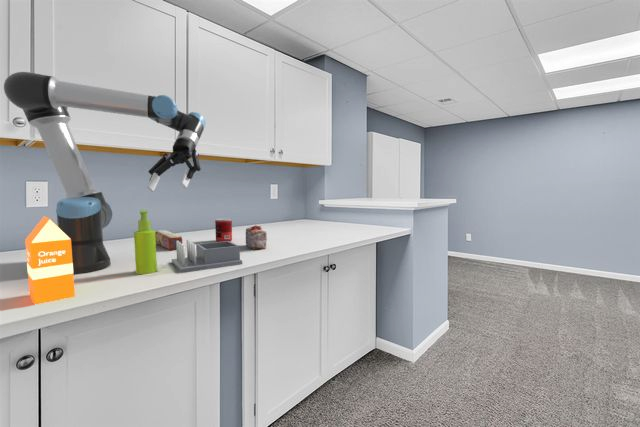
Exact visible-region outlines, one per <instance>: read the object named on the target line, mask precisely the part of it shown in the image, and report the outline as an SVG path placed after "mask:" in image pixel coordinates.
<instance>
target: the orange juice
mask: <svg viewBox="0 0 640 427" xmlns="http://www.w3.org/2000/svg"><path fill="white" fill-rule="evenodd" d="M24 242H25V253H26V268H27V276H28V277H27V278H28V290H29V291H28V292H29V297H30V299H31V301H32V300H33V301H32V303H33V304H34V305H35V304H38V305H40V304H39V303H43V304H45V303H44V302H47V303H51V302H50V301H52V302H56V301H55V300H57V301H61V300H60V299H62V300H65V299H64V298H66V299H70V297H71V298H75V297H76V296H75V294H76V293H75V280H74V279H75V278H74V274H73V262H72V248H71V239H70V238H69V237H68V236H67V235H66V234H65V233H64V232H63V231H62V230H61V229H60V228H59V227H58V224H57V223H55V222H54V221H52V219H50V218H49V217H47V216H44V215H43V217H42V218H41V219H40V221H39V222H38V223H37V224H36V225H35V227H34V228H33V229H32V231H31V232H30V233H29V234H28V235H27V237H26V238H25V239H24ZM74 296H75V297H74Z"/></svg>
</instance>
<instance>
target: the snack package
mask: <svg viewBox="0 0 640 427" xmlns="http://www.w3.org/2000/svg"><path fill="white" fill-rule="evenodd" d="M155 239H156V245H159V246H161V247H163V248H165V249H166V250H168V251H171V252H172V251H177V249H176V241H179V242H181V244H183V243H184V242H183V241H184V240H183V237H182V236H181V235H178V234H176V233H173V232H170V231H169V230H165V229H159V230H156V231H155ZM183 245H184V244H183Z"/></svg>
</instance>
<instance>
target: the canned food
mask: <svg viewBox="0 0 640 427" xmlns="http://www.w3.org/2000/svg"><path fill="white" fill-rule="evenodd" d="M214 223H215V242H223V241H230V242H232V241H233V222H232V218H230V217H229V218H228V217H226V218H225V217H222V218H221V217H220V218H215V221H214Z"/></svg>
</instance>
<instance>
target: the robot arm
mask: <svg viewBox="0 0 640 427" xmlns="http://www.w3.org/2000/svg"><path fill="white" fill-rule="evenodd" d="M3 91H4V95H5V96H6V98H8V101H9V102H10V103H12V104H13V105H14V106H16V107H17V108H19V109H22V110H23V113H24V116H25V117H26V120H27V122H28V124H29V125H30V126H32V127H34V128H36V129H37V130H38V133H39V135H40V137H41V140H42V142H43V144H44V146H45V149H46V151H47V153H48V155H49V159H50V160H51V162H52V164H53V168H54V169H55V172H56V174H57V176H58V177H59V180H60V183H61V184H62V187H63V190H64V192H65V194H66V196H65V198H62V199H60V200H58V201H57V202H56V209H55V213H56V218H57V219H56V221H57V226H58V227H59V228H60V229H61V230H62V231H63V232H64V233H65V234H66V235H67V236H68V237H69V238H70V239H71V248H72V262H73V275H74V274H84V273H88V272H89V273H90V272H95V271H100V270H103V269H106V268H108V267H110V266H111V258H110V255H109V252H108V251H107V248H106V246H105V245H104V238H103V237H104V236H103V229H104V228H107V226H108V225H109V224H110V223H111V221H112V219H113V214H114V213H113V209H112V207H111V205H110V204H109V203H108V202H107V201H106V200H105V197H104V195H103V192H102V191H101V190H99V189H98V188H96V187H95V186H94V183H93V180H92V179H91V176H90V173H89V171H88V168H87V166H86V165H85V162H84V160H83V157H82V155H81V153H80V151H79V147H78V146H77V143H76V141H75V138H74V136H73V134H72V131H71V129H70V127H69V122H70V121H71V117H70V114H69V111H68V108H73V109H79V110H88V111H96V112H103V113H110V114H119V115H126V116H132V117H141V118H148V119H151V121H153V122H156V123H157V124H161V125H163V126H165V127H168V128H170V129H172V130H175V131H177V132H178V135H177V137H176V138H175V141H174V143H173V146H172V152H171V153H170V154H168V153H167V152H166V153H163V155H162V156H161V158H160V159H159V160H158V161H157V162H156V163H155V164H154V165H153V166H152V167H151V168H150V169H149V170H148V174H150V178H149V181H148V184H147V186H146V188H147V189H148V190H150V191H151V192H155V190H156V189H157V188H156V187H157V185H158V184H159V180H161V177H160V176H162V175H163V174H164V173H166V172H167V170H169V169H170V168H171V167H175V166H176V165H184V164H186V166H187V167H188V168H185V171H184V173H183V176H182V178H181V181H180V184H181V185H182V187H183V188H184V189H188V187H189V184H190V181H191V180H192V178H193V177H194V174H196V172H200V171H201V169H202V168H201V164H200V160H199V156H200V153H198V150H197V149H196V148H197V146H198V143H199V141H200V138H201V137H202V134H203V132H204V129H205V128H206V119H205V117H204V116H203V115H201V114H200V113H199V112H194V111H191V112H189V113H188V114H187V113H184V112H182V111H180V110H179V109H178V107H177V103H176V102H175V100H174V99H173V98H171V97H170V96H168V95H165V94H161V95H157V96H155V95H148V94H143V93H141V94H140V93H136V92H131V91H130V92H129V91H123V90H117V89H112V88H111V89H110V88H104V87H98V86H92V85H87V84H81V83H80V84H79V83H74V82H69V81H68V82H67V81H61V80H59V79H58V78H57V77H56V76H51V75H46V74H40V73H34V72H30V71H17V72H14V73H11V74H9V75H8V77H6V79H5V81H4V82H3ZM190 158H192V162H193V165H192V163H191V161H190V160H189V159H190Z"/></svg>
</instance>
